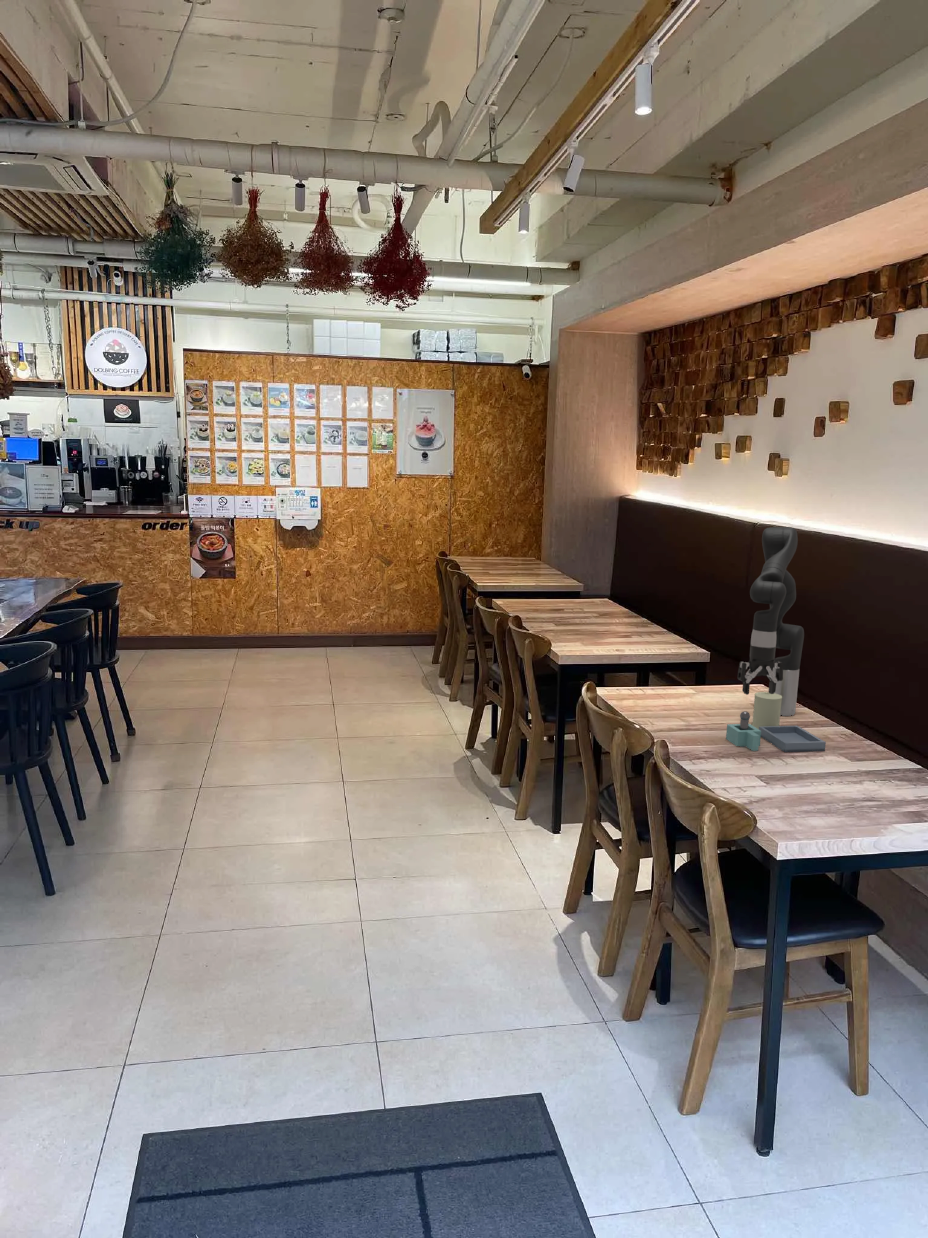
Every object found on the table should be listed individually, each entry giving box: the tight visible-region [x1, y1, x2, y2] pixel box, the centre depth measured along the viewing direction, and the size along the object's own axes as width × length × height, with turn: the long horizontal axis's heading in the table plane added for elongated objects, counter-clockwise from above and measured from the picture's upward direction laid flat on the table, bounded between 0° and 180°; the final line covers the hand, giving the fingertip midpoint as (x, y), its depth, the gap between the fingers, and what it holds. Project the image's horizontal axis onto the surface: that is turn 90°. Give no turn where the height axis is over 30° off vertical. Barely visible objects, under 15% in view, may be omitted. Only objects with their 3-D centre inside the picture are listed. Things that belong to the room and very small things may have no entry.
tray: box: [759, 725, 827, 753], centre depth 289 cm, size 18×14×3 cm
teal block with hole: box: [725, 723, 762, 752], centre depth 286 cm, size 12×8×5 cm, turn 9°
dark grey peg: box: [739, 710, 751, 730], centre depth 287 cm, size 3×3×11 cm
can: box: [751, 691, 782, 729], centre depth 304 cm, size 9×9×12 cm
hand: (758, 693), depth 278 cm, fingers open, 8 cm apart
